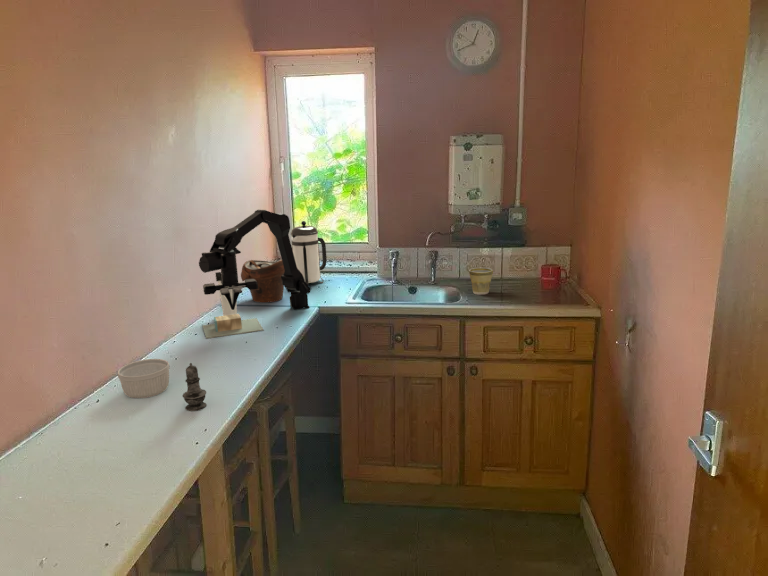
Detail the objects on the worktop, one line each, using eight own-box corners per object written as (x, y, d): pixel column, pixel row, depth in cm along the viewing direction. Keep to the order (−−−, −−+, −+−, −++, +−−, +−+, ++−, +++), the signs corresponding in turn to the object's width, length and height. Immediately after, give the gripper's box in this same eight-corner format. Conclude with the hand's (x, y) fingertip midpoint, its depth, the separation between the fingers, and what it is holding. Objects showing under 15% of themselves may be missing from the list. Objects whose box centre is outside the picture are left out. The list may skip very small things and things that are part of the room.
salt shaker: (198, 400, 156) (192, 357, 153) (212, 404, 153) (207, 361, 150) (179, 408, 152) (173, 364, 149) (193, 413, 148) (188, 368, 145)
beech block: (238, 313, 220) (213, 317, 217) (240, 317, 214) (215, 321, 211) (239, 324, 221) (214, 327, 218) (241, 328, 215) (216, 332, 212)
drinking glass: (234, 319, 229) (231, 281, 226) (218, 318, 230) (214, 280, 227) (241, 314, 236) (238, 277, 232) (226, 313, 237) (222, 277, 233)
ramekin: (134, 405, 155) (131, 380, 153) (112, 392, 163) (108, 369, 162) (181, 388, 164) (178, 365, 163) (157, 377, 173) (154, 355, 171)
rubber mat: (256, 319, 228) (256, 318, 228) (263, 330, 213) (263, 329, 213) (202, 326, 221) (202, 325, 221) (206, 338, 207) (206, 337, 206)
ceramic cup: (482, 296, 247) (482, 273, 245) (464, 293, 255) (464, 270, 252) (501, 291, 256) (501, 268, 253) (483, 287, 263) (483, 265, 261)
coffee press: (324, 286, 276) (319, 222, 269) (289, 287, 276) (284, 223, 269) (327, 278, 293) (324, 217, 286) (295, 279, 293) (291, 218, 286)
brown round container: (241, 296, 263) (237, 257, 258) (286, 291, 269) (283, 253, 264) (245, 307, 246) (241, 265, 242) (293, 301, 252) (290, 260, 248)
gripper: (251, 261, 223) (255, 301, 226) (200, 266, 216) (204, 307, 220) (256, 266, 212) (260, 308, 216) (202, 271, 206) (207, 314, 210)
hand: (232, 309), depth 216 cm, fingers closed
